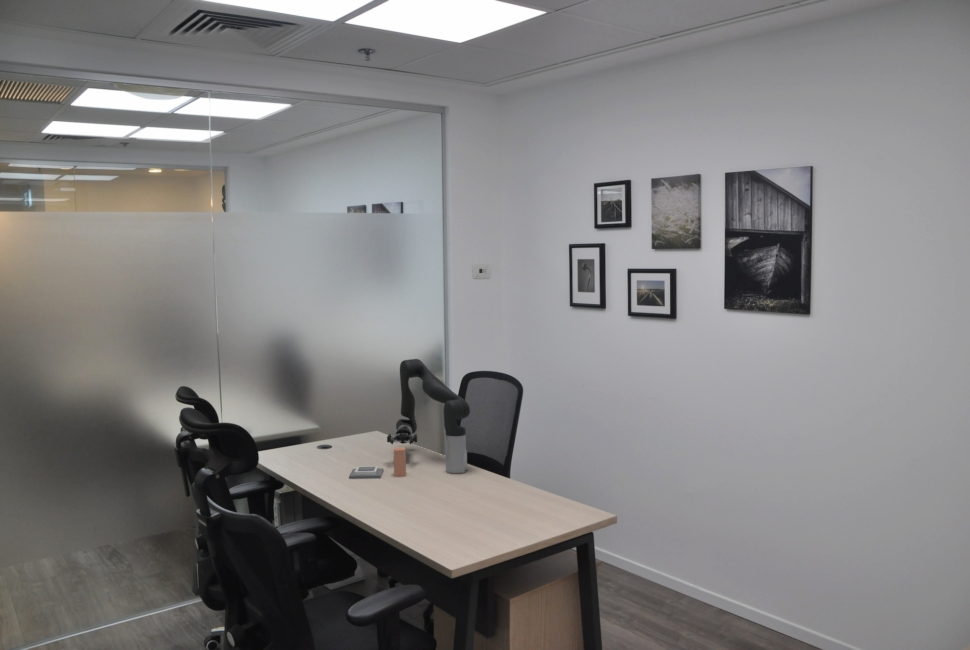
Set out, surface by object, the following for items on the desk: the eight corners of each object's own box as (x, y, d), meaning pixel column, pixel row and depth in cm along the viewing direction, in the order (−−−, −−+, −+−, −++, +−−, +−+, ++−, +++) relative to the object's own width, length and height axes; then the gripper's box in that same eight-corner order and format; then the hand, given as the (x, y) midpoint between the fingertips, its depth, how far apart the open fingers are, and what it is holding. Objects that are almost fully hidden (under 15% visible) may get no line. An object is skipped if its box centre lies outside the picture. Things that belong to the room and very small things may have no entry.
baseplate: (383, 470, 336) (383, 465, 336) (380, 478, 324) (380, 472, 324) (353, 471, 336) (353, 465, 336) (349, 478, 324) (349, 472, 324)
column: (406, 473, 332) (405, 447, 332) (405, 476, 327) (404, 450, 327) (395, 473, 332) (394, 447, 331) (394, 476, 327) (393, 450, 326)
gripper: (389, 426, 356) (385, 434, 340) (418, 426, 356) (416, 434, 340) (389, 441, 357) (386, 450, 340) (418, 441, 357) (416, 449, 341)
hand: (401, 442), depth 340 cm, fingers open, 8 cm apart
